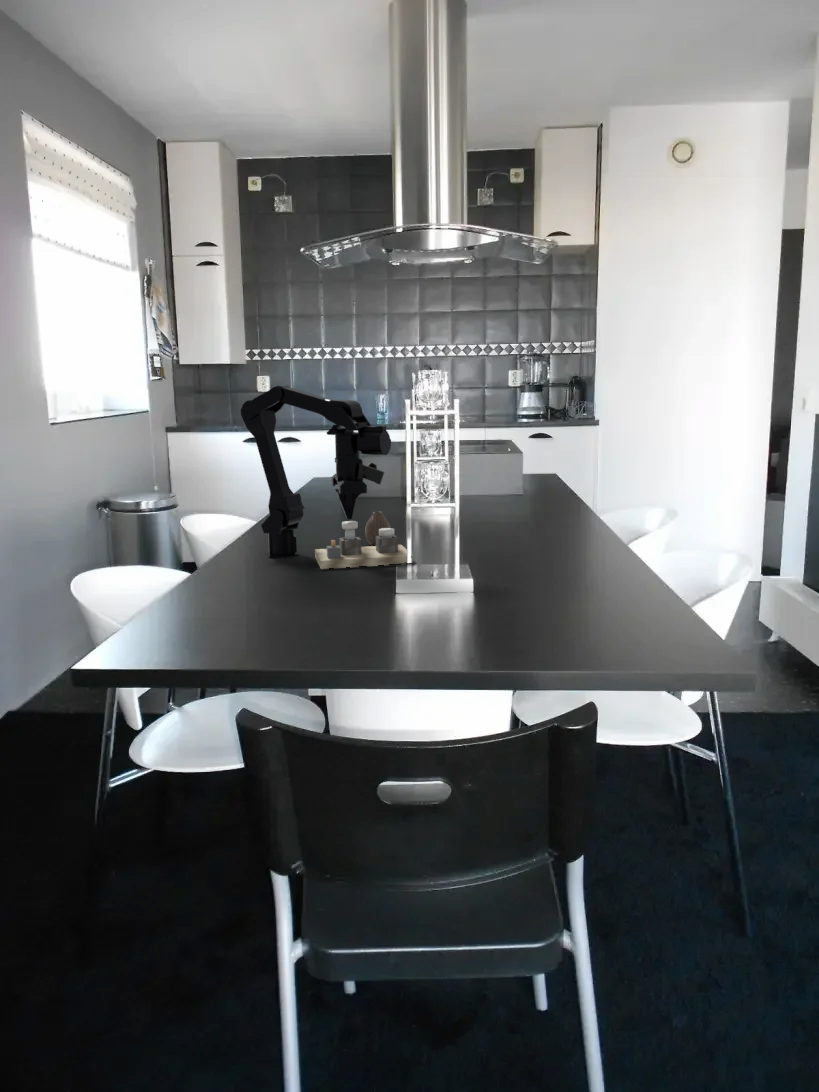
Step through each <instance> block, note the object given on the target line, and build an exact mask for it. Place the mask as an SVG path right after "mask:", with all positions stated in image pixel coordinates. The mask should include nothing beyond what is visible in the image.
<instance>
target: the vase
mask: <svg viewBox="0 0 819 1092" xmlns="http://www.w3.org/2000/svg"><path fill="white" fill-rule="evenodd" d="M365 524H366V525H365V529H364V535H365V539H366V541H367V542H368V544H369V545H371V546H373V545H375V546H376V536H379V529H381V528H391V525H390V522H389V521H388V519H387V518H386V517H385V516H384V513H383V512H382V511H373V512H372V513H371V516H370V517H369V518H368V521H367V522H366V523H365Z"/></svg>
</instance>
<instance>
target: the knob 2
mask: <svg viewBox="0 0 819 1092" xmlns="http://www.w3.org/2000/svg"><path fill="white" fill-rule="evenodd" d="M394 535H395V528H391V527H390V528H381V529H379V536H382V538H392V536H394Z"/></svg>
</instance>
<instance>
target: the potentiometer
mask: <svg viewBox="0 0 819 1092" xmlns="http://www.w3.org/2000/svg"><path fill="white" fill-rule="evenodd" d="M330 542H331V543H330V545H326V549H327V557H328V559H331V558H341V548H340V544H337V543H336V540H335V539H332V540H330ZM336 544H337V545H336Z"/></svg>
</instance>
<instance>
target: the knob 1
mask: <svg viewBox="0 0 819 1092" xmlns="http://www.w3.org/2000/svg"><path fill="white" fill-rule="evenodd" d="M358 523H359V521H356V520H348V521H347V520H345V521H342V522H341V529H342V530H344V537H345V540H355V537H356V529H358V528H359V527H358V526H359V525H358Z"/></svg>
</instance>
